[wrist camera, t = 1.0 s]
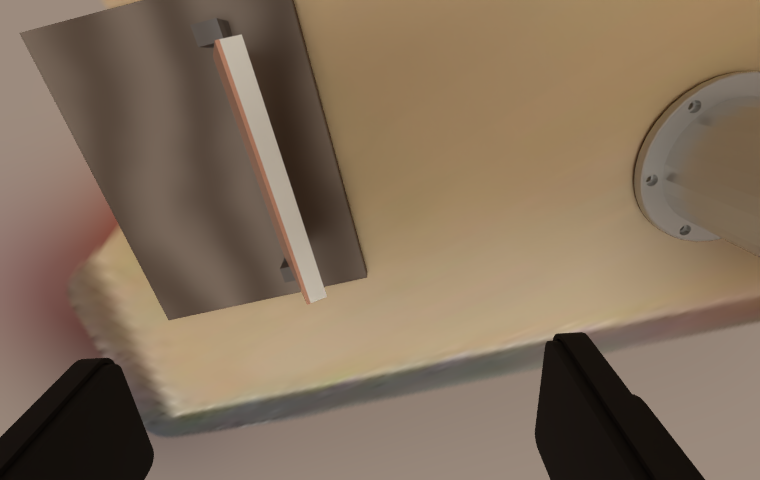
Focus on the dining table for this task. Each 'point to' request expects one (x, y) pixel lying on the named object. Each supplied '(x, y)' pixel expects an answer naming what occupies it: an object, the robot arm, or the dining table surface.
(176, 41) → the board
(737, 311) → the dining table surface
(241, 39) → the tile
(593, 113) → the dining table surface
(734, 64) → the dining table surface
